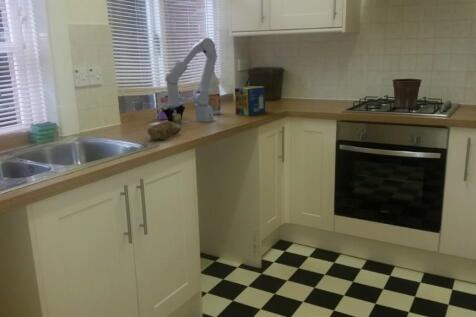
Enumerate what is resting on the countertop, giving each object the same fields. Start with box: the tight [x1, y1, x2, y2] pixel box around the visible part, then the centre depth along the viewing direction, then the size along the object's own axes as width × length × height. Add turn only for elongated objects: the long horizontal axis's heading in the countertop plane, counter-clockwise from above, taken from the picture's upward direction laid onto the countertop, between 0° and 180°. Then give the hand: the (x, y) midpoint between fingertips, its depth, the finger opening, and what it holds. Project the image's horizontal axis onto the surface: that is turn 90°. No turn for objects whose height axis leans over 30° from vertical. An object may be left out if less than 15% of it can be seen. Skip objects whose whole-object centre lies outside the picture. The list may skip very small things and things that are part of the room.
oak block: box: [172, 114, 182, 124], centre depth 239 cm, size 4×4×4 cm
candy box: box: [154, 89, 182, 120], centre depth 255 cm, size 14×6×16 cm, turn 105°
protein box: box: [234, 85, 266, 117], centre depth 264 cm, size 10×15×16 cm
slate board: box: [145, 120, 191, 127], centre depth 238 cm, size 16×18×1 cm
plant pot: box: [391, 78, 423, 110], centre depth 262 cm, size 16×16×16 cm
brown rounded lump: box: [147, 121, 182, 140], centre depth 205 cm, size 13×8×20 cm
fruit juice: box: [208, 66, 221, 116], centre depth 268 cm, size 9×9×28 cm
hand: (175, 121), depth 239 cm, fingers open, 7 cm apart
